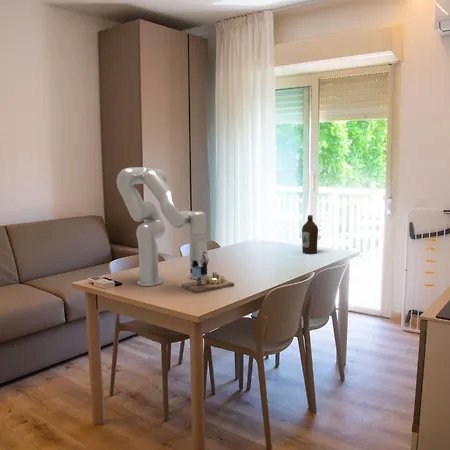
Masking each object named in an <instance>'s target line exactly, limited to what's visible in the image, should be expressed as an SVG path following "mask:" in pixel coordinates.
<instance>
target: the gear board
mask: <svg viewBox="0 0 450 450" xmlns="http://www.w3.org/2000/svg"><path fill="white" fill-rule="evenodd" d="M181 287H182V288H183V289H185V290H187V291H190V292H192V293H194V294H200V293H201V294H202V293H205V292H210V291H216V290H221V289H227V288H232V287H235V282H232V281H230V280H227V279H225V282H224V283H223V284H220V285H219V284H217V285H209V284H206V283H205V279H201V277H199V278H197V279H196V281H191V282H185V283H182V284H181ZM226 287H227V288H226Z"/></svg>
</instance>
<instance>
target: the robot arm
mask: <svg viewBox="0 0 450 450" xmlns="http://www.w3.org/2000/svg"><path fill="white" fill-rule="evenodd" d="M116 177H117V178H116V187H117V190H118V192H119V194H120V195H121V197H122V199H123V201H124V204H125V206H126V208H127V211H128V214H129V215H130V216H131V219H133V221H135V222H141V223H140V224H139V225H138V227H137V228H136V232H135V233H136V235H135V236H136V239H137V244H138V263H139V264H138V265H139V267H138V268H139V279H138V280H137V282H136V284H137V285H138V286H142V287H154V286H159V285H161V284H162V283H163V282H162V279H161V278H160V277H159V275H160V274H159V272H160V271H159V251H158V249H159V248H158V245H157V241H156V239H160V238H161V237H162V236H163V235H165V232H166V227H165V223H164V221H163V219H162V217H161V215H160V213H159V211H158V208H157V207H156V205H155V204H154V203H153V202H151V201H144V199H143V198H142V196H141V194H140V192H139V191H138V189H137V188H136V187H135V186H134V185H141V184H142V185H145V186H146V187H147V188H148V190H149V191H150V192H151V193H152V195H153V196H154V198H155V199H156V200H157V201H158V202H159V206H160V210H161V213H162V215H163V217H164V218H165V219H166V220H167V222H168V223H169V224H170V225H171V226H172V227H174V228H176V229H182V228H184V227H188V226H190V243H189V259H190V258H191V260H192V267H197V266H198V262H200V263H201V266H202V267H201V275H204V274H207V275H208V264H209V261H210V258H209V255H208V244H207V243H208V242H207V221H206V218H207V216H206V212H204V211H197V210H196V211H192V210H182V211H179V210H178V208H177V207H176V206H175V204H174V202H173V200H172V199H173V195H174V191H173V189H172V188H171V186H169V184H168V183H167V182H168V176H167V172H165V171H164V170H162V169H159V168H152V167H151V168H149V167H143V166H141V167H140V166H139V167H137V166H136V167H135V166H134V167H127V168H123V169H122V170H121V171H119V172H118V175H117V176H116ZM142 221H143V222H142ZM203 262H204V263H203Z"/></svg>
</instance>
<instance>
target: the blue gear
mask: <svg viewBox="0 0 450 450" xmlns="http://www.w3.org/2000/svg"><path fill="white" fill-rule="evenodd" d="M201 267H202V266H197V267H192V277H197V278H199V277H201V278H202V277H205V278H206V276H208V273H207V274H204V275H201Z"/></svg>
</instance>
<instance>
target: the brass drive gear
mask: <svg viewBox="0 0 450 450" xmlns="http://www.w3.org/2000/svg"><path fill="white" fill-rule="evenodd" d="M204 280H205V283H206V284H209V285H217V284H219V285H220V284H223V283H224V282H225V280H226V279H225V276H224V275H219V274H218V273H217V272H216V271H214V272H212V275H207V276H206V277H205V278H204Z"/></svg>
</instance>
